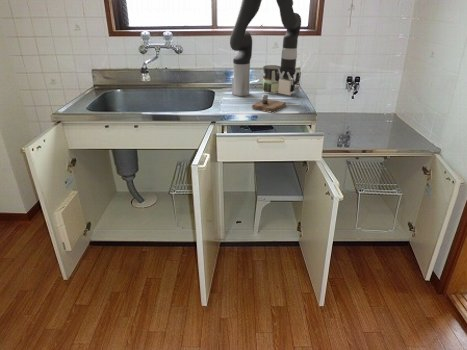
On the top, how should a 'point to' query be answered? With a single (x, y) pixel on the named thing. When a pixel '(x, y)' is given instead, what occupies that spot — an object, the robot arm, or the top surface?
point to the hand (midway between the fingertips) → (286, 90)
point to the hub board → (269, 105)
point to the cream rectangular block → (284, 86)
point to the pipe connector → (294, 87)
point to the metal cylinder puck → (265, 99)
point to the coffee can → (270, 79)
